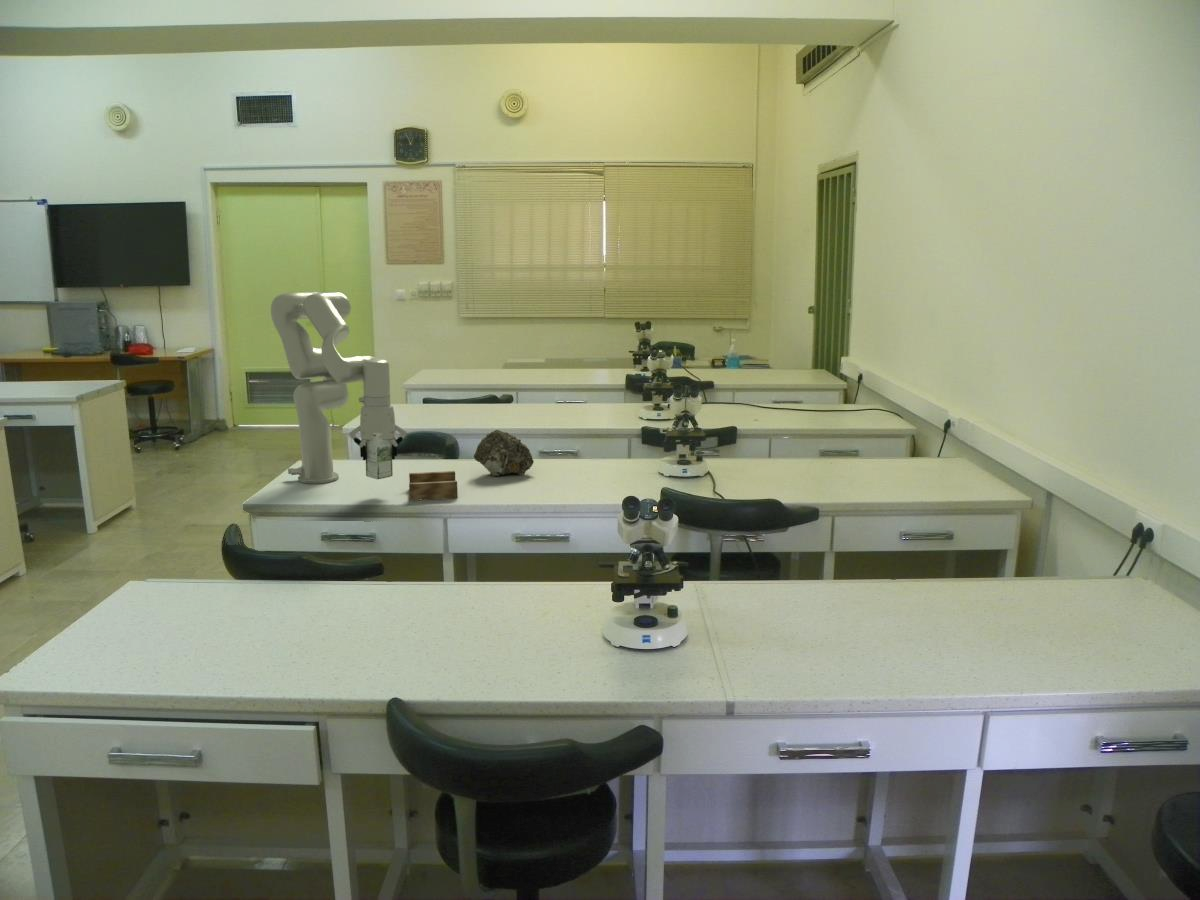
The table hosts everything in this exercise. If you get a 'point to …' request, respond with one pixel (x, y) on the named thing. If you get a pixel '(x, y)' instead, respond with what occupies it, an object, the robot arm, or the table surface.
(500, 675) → the table surface
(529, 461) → the rock
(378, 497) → the table surface
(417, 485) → the walnut rack
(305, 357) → the robot arm
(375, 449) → the syrup box
